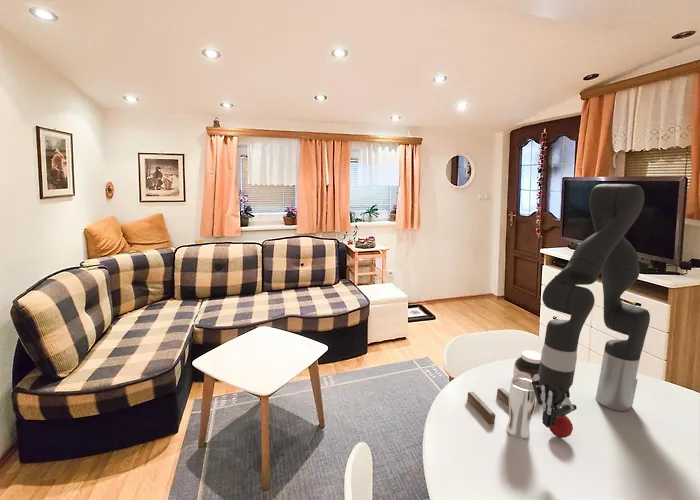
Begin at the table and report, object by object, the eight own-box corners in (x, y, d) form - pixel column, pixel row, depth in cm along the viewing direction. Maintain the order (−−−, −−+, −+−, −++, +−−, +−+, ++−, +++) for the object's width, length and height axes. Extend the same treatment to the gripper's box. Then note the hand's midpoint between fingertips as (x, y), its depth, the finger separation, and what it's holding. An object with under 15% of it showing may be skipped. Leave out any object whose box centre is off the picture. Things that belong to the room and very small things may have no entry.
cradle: (501, 396, 126) (502, 387, 125) (526, 419, 114) (527, 409, 114) (467, 400, 123) (468, 391, 122) (488, 424, 111) (490, 414, 111)
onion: (561, 447, 103) (566, 421, 101) (542, 434, 108) (546, 409, 106) (575, 441, 106) (579, 415, 104) (555, 428, 111) (559, 403, 109)
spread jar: (539, 381, 136) (544, 351, 133) (551, 400, 125) (556, 367, 122) (504, 377, 137) (508, 347, 135) (512, 395, 126) (517, 363, 124)
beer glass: (534, 442, 105) (541, 392, 102) (507, 438, 106) (513, 389, 103) (527, 426, 111) (534, 379, 108) (502, 422, 113) (508, 376, 110)
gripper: (593, 375, 88) (581, 441, 92) (550, 349, 101) (541, 408, 104) (565, 378, 86) (554, 445, 90) (526, 351, 99) (518, 411, 103)
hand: (547, 425), depth 97 cm, fingers closed
